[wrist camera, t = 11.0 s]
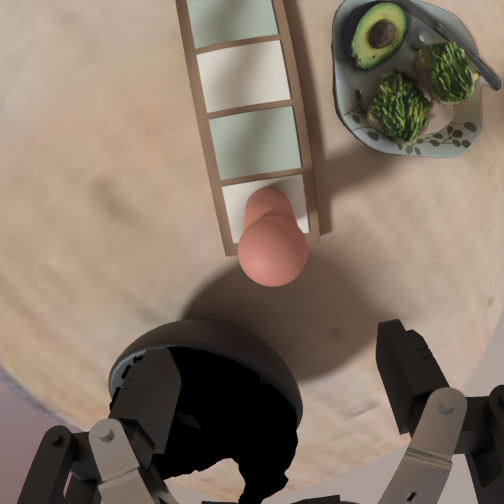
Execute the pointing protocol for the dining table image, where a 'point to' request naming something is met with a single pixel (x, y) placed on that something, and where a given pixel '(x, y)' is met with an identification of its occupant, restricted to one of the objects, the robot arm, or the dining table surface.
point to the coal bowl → (224, 403)
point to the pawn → (271, 239)
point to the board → (248, 109)
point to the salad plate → (406, 76)
